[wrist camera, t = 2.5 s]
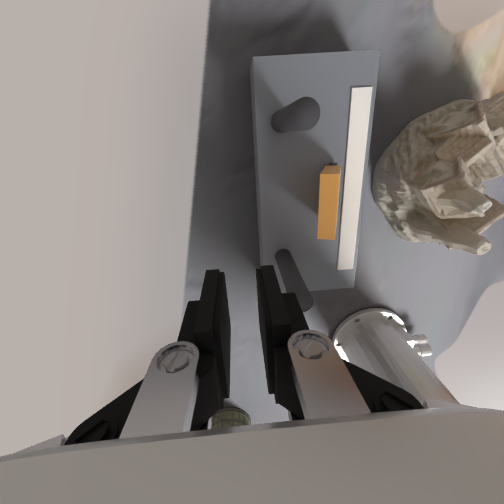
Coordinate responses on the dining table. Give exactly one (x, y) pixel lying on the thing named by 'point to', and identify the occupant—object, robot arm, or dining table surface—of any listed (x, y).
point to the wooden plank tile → (328, 201)
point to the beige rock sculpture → (444, 175)
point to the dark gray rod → (297, 116)
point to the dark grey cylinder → (293, 279)
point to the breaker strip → (312, 159)
